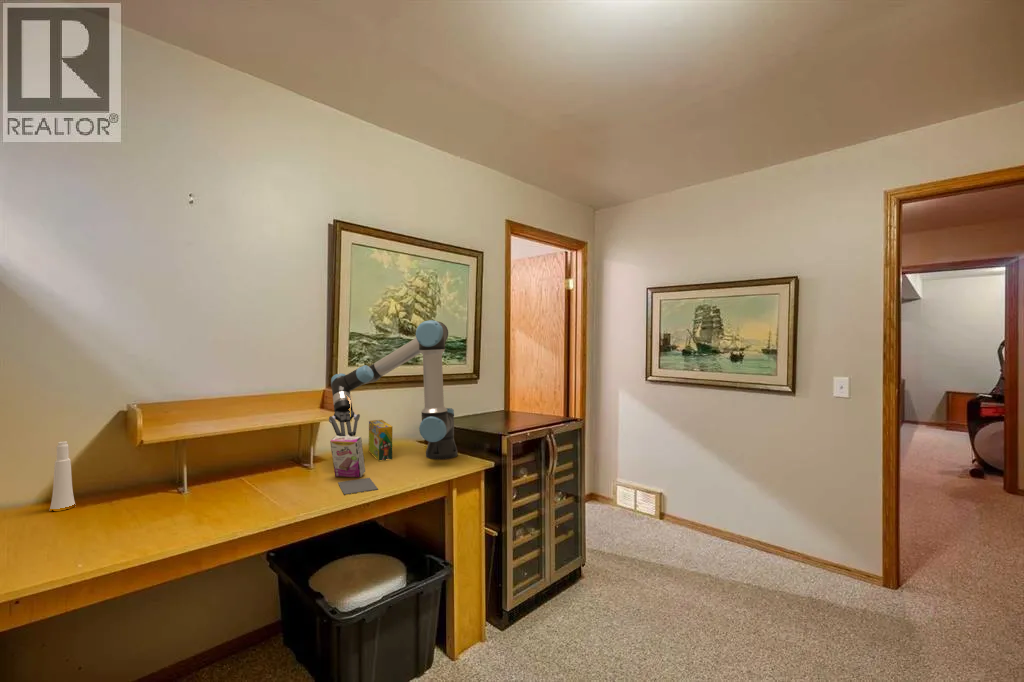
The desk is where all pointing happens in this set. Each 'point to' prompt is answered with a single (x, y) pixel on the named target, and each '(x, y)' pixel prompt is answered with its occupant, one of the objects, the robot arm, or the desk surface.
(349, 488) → the mat
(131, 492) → the desk surface
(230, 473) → the desk surface
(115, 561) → the desk surface
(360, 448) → the candy bar box
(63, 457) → the cosmetic bottle
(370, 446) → the fingerpaint box
